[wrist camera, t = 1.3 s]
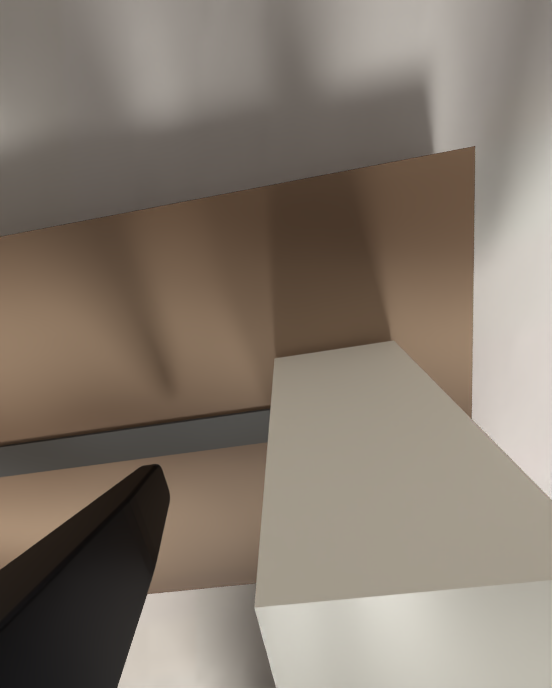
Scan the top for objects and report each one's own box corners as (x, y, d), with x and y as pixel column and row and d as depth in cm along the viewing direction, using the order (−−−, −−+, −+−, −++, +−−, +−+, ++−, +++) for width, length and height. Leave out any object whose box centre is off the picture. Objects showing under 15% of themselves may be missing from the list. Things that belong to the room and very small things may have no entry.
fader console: (442, 513, 13) (472, 567, 11) (-146, 577, 15) (-217, 635, 13) (435, 163, 9) (480, 143, 7) (-351, 311, 11) (-499, 330, 9)
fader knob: (402, 472, 10) (571, 822, 4) (297, 485, 10) (315, 833, 4) (393, 340, 8) (623, 572, 3) (274, 358, 9) (255, 607, 3)
